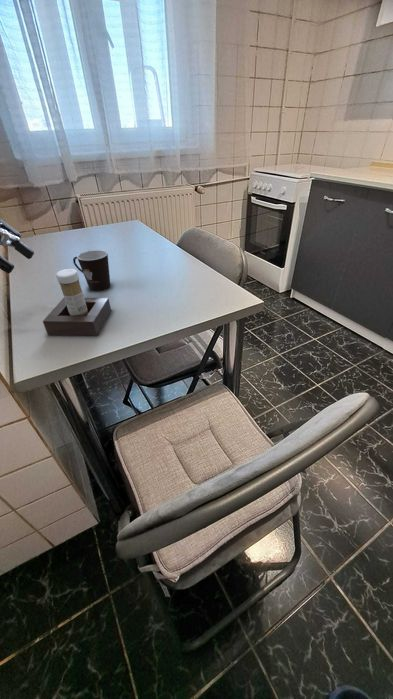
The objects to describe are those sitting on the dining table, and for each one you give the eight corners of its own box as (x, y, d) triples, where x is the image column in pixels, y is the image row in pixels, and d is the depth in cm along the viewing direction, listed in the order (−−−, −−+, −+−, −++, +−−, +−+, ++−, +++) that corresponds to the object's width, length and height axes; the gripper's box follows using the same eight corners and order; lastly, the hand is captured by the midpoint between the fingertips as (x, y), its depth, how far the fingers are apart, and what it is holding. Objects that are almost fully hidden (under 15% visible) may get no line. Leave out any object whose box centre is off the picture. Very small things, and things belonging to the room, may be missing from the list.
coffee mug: (119, 287, 91) (112, 255, 85) (93, 295, 87) (84, 262, 81) (101, 276, 98) (95, 245, 92) (77, 283, 94) (68, 252, 88)
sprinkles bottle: (86, 316, 77) (72, 266, 69) (93, 322, 74) (79, 272, 66) (69, 322, 75) (52, 271, 67) (76, 329, 72) (59, 277, 64)
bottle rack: (97, 336, 70) (93, 321, 67) (48, 335, 70) (42, 321, 68) (111, 310, 79) (108, 297, 77) (68, 310, 80) (63, 297, 77)
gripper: (-77, 200, 52) (11, 263, 58) (-25, 187, 63) (44, 240, 70) (-87, 231, 56) (-3, 287, 62) (-36, 213, 67) (31, 262, 73)
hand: (22, 262), depth 66 cm, fingers open, 8 cm apart
